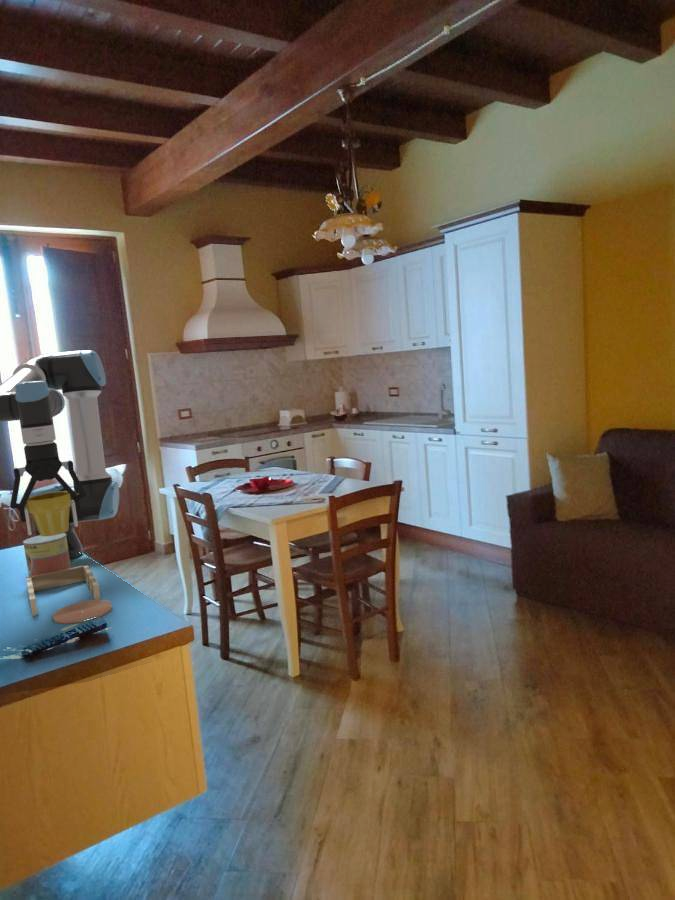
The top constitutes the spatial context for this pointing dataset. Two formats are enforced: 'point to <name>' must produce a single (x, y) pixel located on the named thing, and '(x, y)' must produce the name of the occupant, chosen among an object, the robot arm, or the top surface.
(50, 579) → the slot cradle
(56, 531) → the plant pot
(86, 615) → the disc
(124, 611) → the top surface
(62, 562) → the canned food
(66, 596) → the top surface
